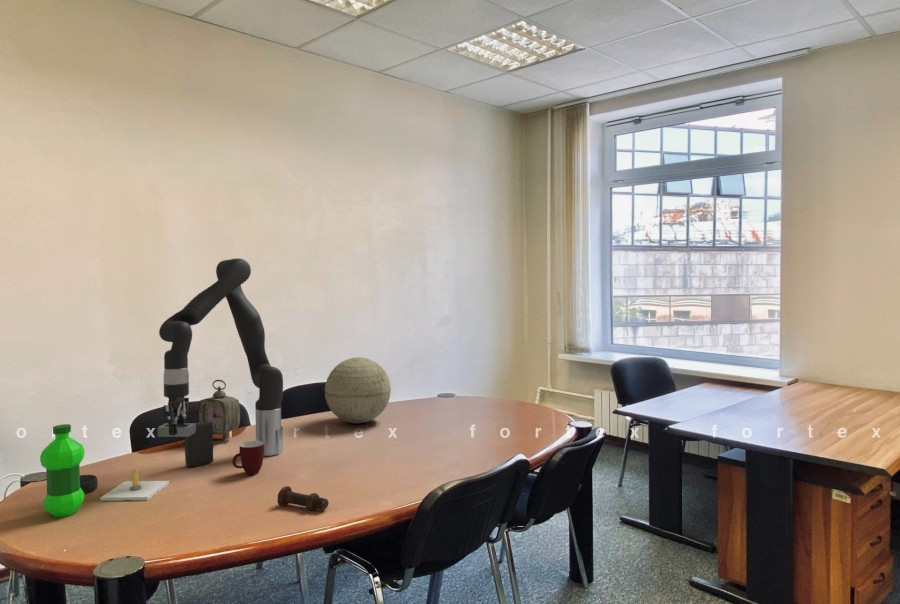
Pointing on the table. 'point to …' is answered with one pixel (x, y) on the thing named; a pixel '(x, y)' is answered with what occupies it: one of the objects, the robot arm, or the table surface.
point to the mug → (250, 456)
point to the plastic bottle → (62, 473)
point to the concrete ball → (357, 390)
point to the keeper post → (134, 489)
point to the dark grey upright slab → (200, 445)
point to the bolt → (301, 499)
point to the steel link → (182, 430)
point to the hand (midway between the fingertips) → (176, 432)
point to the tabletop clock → (220, 412)
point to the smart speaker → (88, 483)
